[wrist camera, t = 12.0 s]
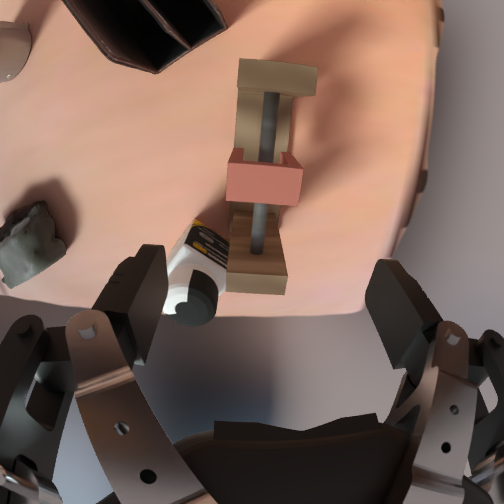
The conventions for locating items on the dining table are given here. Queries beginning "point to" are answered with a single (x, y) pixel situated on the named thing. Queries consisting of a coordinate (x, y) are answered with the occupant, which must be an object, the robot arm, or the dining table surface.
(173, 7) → the letter holder
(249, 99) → the rail stand
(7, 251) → the rock
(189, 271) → the medicine bottle
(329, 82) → the dining table surface
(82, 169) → the dining table surface
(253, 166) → the pink u-shaped bracket
